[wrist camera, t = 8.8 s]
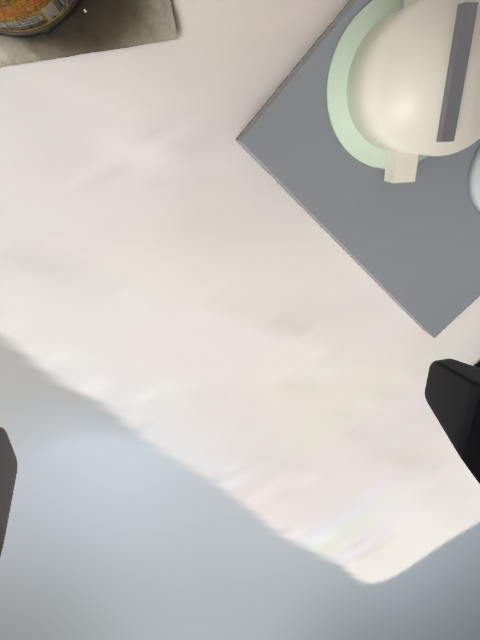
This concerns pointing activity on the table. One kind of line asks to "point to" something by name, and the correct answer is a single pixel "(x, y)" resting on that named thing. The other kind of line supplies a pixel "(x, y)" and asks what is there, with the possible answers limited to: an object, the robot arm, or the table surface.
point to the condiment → (79, 27)
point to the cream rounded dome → (418, 83)
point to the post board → (372, 181)
